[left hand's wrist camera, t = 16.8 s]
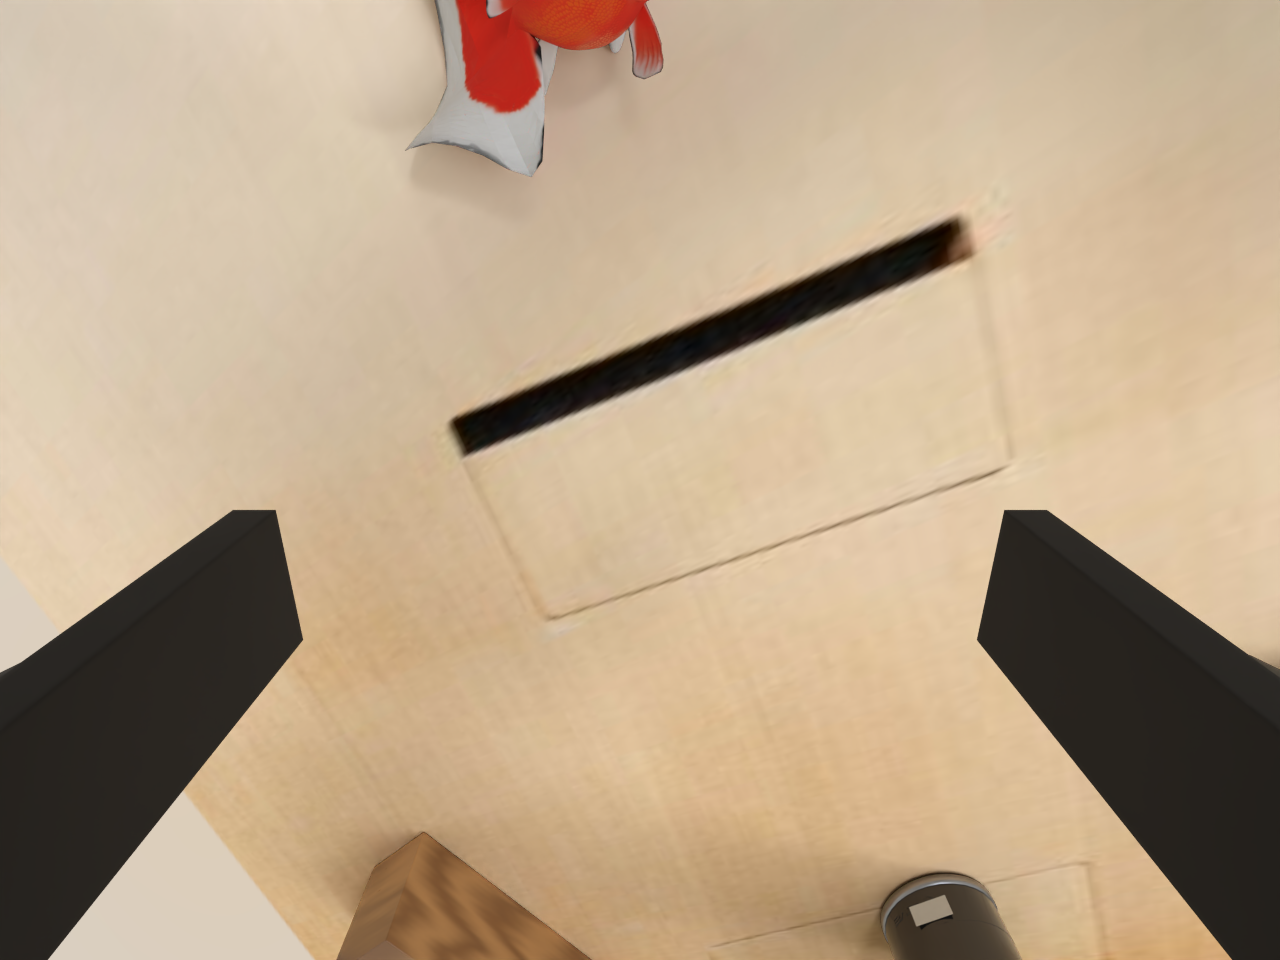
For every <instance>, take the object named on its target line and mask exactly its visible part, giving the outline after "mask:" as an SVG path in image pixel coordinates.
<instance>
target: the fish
mask: <svg viewBox="0 0 1280 960" xmlns="http://www.w3.org/2000/svg"><path fill="white" fill-rule="evenodd" d="M646 1H648V0H435V4H436V8H437V13H438V18H439V24H440V29H441V34H442V40H443V45H444V51H445V63H446V75H447V87H446V90H445V92H444V95H443V97H442V100H441V102H440V104H439V107H438V109H437V111H436V113H435V115H434V116H433V118H432V119H431V121H430V122H429V123H428V125H427V126H426V127H425V128H424V129H423V130H422V131H421V132H420V133H419V134H418V135H417V136H416V138H415V139H414V140H413V141H412V143H411V144H410V145H409V147H408V148H407V149H406V150H408V149H410V148H414V147H418V146H421V145H425V144H429V143H439V144H447V145H454V146H458V147H460V148H463V149H466V150H469V151H472V152H475V153H478V154H481V155H483V156H485V157H487V158H489V159H490V160H492V161H494V162H496V163H498V164H499V165H501V166H503V167H505V168H507V169H509V170H512V171H515V172H518V173H521V174H524V175H527V176H530V177H532V175H533V174H534V172H535V171H536V169H537V168H538V167H539V165H540V164H541V162H542V158H543V138H544V110H545V102H544V95H546V93H547V89H548V86H549V83H550V80H551V77H552V74H553V70H554V66H555V60H556V54H557V50H558V47H562V48H565V49H570V50H586V49H594V48H599V47H602V46H605V45H607V44H609V46H610V48H611V50H612V52H613V53H617V52H618V51H619V50H620V48H621V46H622V43H623V40H624V37H625V33H626V30H627V29H629V36H630V41H631V47H632V52H633V67H632V71H633V74H634V75H635V76H636V77H639V78H642V79H646V78H648V77H651V76H653V75H655V74H657V73H659V72H661V70H662V68H663V55H662V48H661V40H660V37H659V34H658V31H657V28H656V26H655V23H654V21H653V19H652V16H651V14H650V12H649V10H648V8H647V5H646ZM535 37H536V38H538V39H539V40H538V42H537V40H536V39H535ZM406 150H405V151H406Z"/></svg>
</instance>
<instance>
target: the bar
mask: <svg viewBox="0 0 1280 960" xmlns="http://www.w3.org/2000/svg"><path fill="white" fill-rule="evenodd" d="M337 960H591V959H590V958H588V957H587V956H586V955H584V954H583V953H582V952H580V951H579V950H578V949H576V948H575V947H574V946H572V945H571V944H570V943H569V942H567V941H566V940H565V939H563V938H562V937H561V936H559V935H558V934H557V933H555V932H554V931H553V930H552V929H550V928H549V927H548V926H546V925H545V924H544V923H542V922H541V921H540V920H538V919H537V918H536V917H535V916H533V915H532V914H531V913H529V912H528V911H527V910H525V909H524V908H523V907H521V906H520V905H519V904H517V903H516V902H515V901H514V900H512V899H511V898H510V897H508V896H507V895H506V894H504V893H503V892H502V891H500V890H499V889H498V888H497V887H495V886H494V885H493V884H491V883H490V882H489V881H487V880H486V879H485V878H483V877H482V876H481V875H480V874H478V873H477V872H476V871H474V870H473V869H472V868H470V867H469V866H468V865H466V864H465V863H464V862H462V861H461V860H460V859H459V858H457V857H456V856H455V855H453V854H452V853H451V852H449V851H448V850H447V849H445V848H444V847H443V846H442V845H440V844H439V843H438V842H436V841H435V840H434V839H432V838H431V837H430V836H428V835H427V834H426V833H424V832H423V833H422V834H421V835H419V836H418V837H416V838H415V839H414V840H412V841H411V842H409V843H408V844H407V845H405V846H404V847H402V848H401V849H399V850H398V851H397V852H395V853H394V854H392V855H391V856H390V857H388V858H387V859H385V860H384V861H383V862H381V863H380V864H378V865H377V866H376V867H374V869H373V872H372V874H371V876H370V879H369V881H368V884H367V886H366V889H365V891H364V894H363V896H362V898H361V901H360V903H359V906H358V908H357V911H356V913H355V916H354V918H353V920H352V923H351V925H350V928H349V930H348V933H347V935H346V938H345V940H344V943H343V945H342V947H341V950H340V952H339V955H338V957H337Z"/></svg>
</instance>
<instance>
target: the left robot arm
mask: <svg viewBox="0 0 1280 960" xmlns="http://www.w3.org/2000/svg"><path fill="white" fill-rule="evenodd" d="M302 641H303V637H302V633H301V628H300V623H299V618H298V614H297V609H296V604H295V600H294V595H293V590H292V585H291V581H290V576H289V571H288V566H287V562H286V557H285V552H284V548H283V543H282V538H281V533H280V529H279V524H278V519H277V514H276V510H233V511H231V512H230V513H228V514H227V515H226V516H224V517H223V518H221V519H220V520H219V521H217V522H216V523H214V524H213V525H212V526H210V527H209V528H207V529H206V530H205V531H203V532H202V533H201V534H199V535H198V536H196V537H195V538H194V539H192V540H191V541H189V542H188V543H187V544H185V545H184V546H182V547H181V548H180V549H178V550H177V551H175V552H174V553H173V554H171V555H170V556H169V557H167V558H166V559H164V560H163V561H162V562H160V563H159V564H157V565H156V566H155V567H153V568H152V569H150V570H149V571H148V572H146V573H145V574H143V575H142V576H141V577H139V578H138V579H137V580H135V581H134V582H132V583H131V584H130V585H128V586H127V587H125V588H124V589H123V590H121V591H120V592H118V593H117V594H116V595H114V596H113V597H111V598H110V599H109V600H107V601H106V602H105V603H103V604H102V605H100V606H99V607H98V608H96V609H95V610H93V611H92V612H91V613H89V614H88V615H86V616H85V617H84V618H82V619H81V620H79V621H78V622H77V623H75V624H74V625H72V626H71V627H70V628H68V629H67V630H66V631H64V632H63V633H61V634H60V635H59V636H57V637H56V638H54V639H53V640H52V641H50V642H49V643H47V644H46V645H45V646H43V647H42V648H40V649H39V650H38V651H36V652H35V653H34V654H32V655H31V656H29V657H28V658H27V659H25V660H24V661H22V662H21V663H19V664H17V665H15V666H13V667H11V668H9V669H7V670H5V671H3V672H1V673H0V960H48V959H49V958H50V956H51V955H52V954H53V953H54V951H55V950H56V949H57V948H58V946H59V945H60V944H61V942H62V941H63V940H64V939H65V937H66V936H67V935H68V934H69V932H70V931H71V930H72V929H73V927H74V926H75V925H76V924H77V922H78V921H79V920H80V919H81V917H82V916H83V915H84V914H85V912H86V911H87V910H88V909H89V907H90V906H91V905H92V904H93V902H94V901H95V900H96V899H97V897H98V896H99V895H100V894H101V892H102V891H103V890H104V889H105V887H106V886H107V885H108V884H109V882H110V881H111V880H112V879H113V877H114V876H115V875H116V874H117V872H118V871H119V870H120V869H121V867H122V866H123V865H124V864H125V862H126V861H127V860H128V858H129V857H130V856H131V855H132V854H133V852H134V851H135V850H136V849H137V847H138V846H139V845H140V843H141V842H142V841H143V840H144V838H145V837H146V836H147V835H148V833H149V832H150V831H151V830H152V828H153V827H154V826H155V825H156V823H157V822H158V821H159V820H160V818H161V817H162V816H163V815H164V813H165V812H166V811H167V810H168V808H169V807H170V806H171V805H172V803H173V802H174V801H175V800H176V798H177V797H178V796H179V795H180V793H181V792H182V791H183V790H184V788H185V787H186V786H187V785H188V783H189V782H190V781H191V780H192V778H193V777H194V776H195V775H196V773H197V772H198V771H199V770H200V768H201V767H202V766H203V765H204V763H205V762H206V761H207V760H208V758H209V757H210V756H211V755H212V753H213V752H214V751H215V750H216V748H217V747H218V746H219V745H220V743H221V742H222V741H223V740H224V738H225V737H226V736H227V735H228V733H229V732H230V731H231V730H232V728H233V727H234V726H235V724H236V723H237V722H238V721H239V719H240V718H241V717H242V716H243V714H244V713H245V712H246V711H247V709H248V708H249V707H250V706H251V704H252V703H253V702H254V701H255V699H256V698H257V697H258V696H259V694H260V693H261V692H262V691H263V689H264V688H265V687H266V686H267V684H268V683H269V682H270V681H271V679H272V678H273V677H274V676H275V674H276V673H277V672H278V671H279V669H280V668H281V667H282V666H283V664H284V663H285V662H286V661H287V659H288V658H289V657H290V656H291V654H292V653H293V652H294V651H295V649H296V648H297V647H298V646H299V644H300V643H301V642H302ZM977 641H978V642H979V643H980V644H981V646H982V647H983V648H984V649H985V651H986V652H987V653H988V654H989V656H990V657H991V658H992V659H993V661H994V662H995V663H996V664H997V666H998V667H999V668H1000V669H1001V671H1002V672H1003V673H1004V674H1005V676H1006V677H1007V678H1008V679H1009V681H1010V682H1011V683H1012V684H1013V686H1014V687H1015V688H1016V689H1017V691H1018V692H1019V693H1020V694H1021V696H1022V697H1023V698H1024V699H1025V701H1026V702H1027V703H1028V704H1029V706H1030V707H1031V708H1032V709H1033V711H1034V712H1035V713H1036V714H1037V716H1038V717H1039V718H1040V719H1041V721H1042V722H1043V723H1044V724H1045V726H1046V727H1047V728H1048V730H1049V731H1050V732H1051V733H1052V735H1053V736H1054V737H1055V738H1056V740H1057V741H1058V742H1059V743H1060V745H1061V746H1062V747H1063V748H1064V750H1065V751H1066V752H1067V753H1068V755H1069V756H1070V757H1071V758H1072V760H1073V761H1074V762H1075V763H1076V765H1077V766H1078V767H1079V768H1080V770H1081V771H1082V772H1083V773H1084V775H1085V776H1086V777H1087V778H1088V780H1089V781H1090V782H1091V783H1092V785H1093V786H1094V787H1095V788H1096V790H1097V791H1098V792H1099V793H1100V795H1101V796H1102V797H1103V798H1104V800H1105V801H1106V802H1107V803H1108V805H1109V806H1110V807H1111V808H1112V810H1113V811H1114V812H1115V813H1116V815H1117V816H1118V817H1119V818H1120V820H1121V821H1122V822H1123V823H1124V825H1125V826H1126V827H1127V828H1128V830H1129V831H1130V832H1131V833H1132V835H1133V836H1134V837H1135V839H1136V840H1137V841H1138V842H1139V844H1140V845H1141V846H1142V847H1143V849H1144V850H1145V851H1146V852H1147V854H1148V855H1149V856H1150V857H1151V859H1152V860H1153V861H1154V862H1155V864H1156V865H1157V866H1158V867H1159V869H1160V870H1161V871H1162V872H1163V874H1164V875H1165V876H1166V877H1167V879H1168V880H1169V881H1170V882H1171V884H1172V885H1173V886H1174V887H1175V889H1176V890H1177V891H1178V892H1179V894H1180V895H1181V896H1182V897H1183V899H1184V900H1185V901H1186V902H1187V904H1188V905H1189V906H1190V907H1191V909H1192V910H1193V911H1194V912H1195V914H1196V915H1197V916H1198V917H1199V919H1200V920H1201V921H1202V922H1203V924H1204V925H1205V926H1206V927H1207V929H1208V930H1209V931H1210V932H1211V934H1212V935H1213V936H1214V937H1215V939H1216V940H1217V941H1218V942H1219V944H1220V945H1221V946H1222V948H1223V949H1224V950H1225V951H1226V953H1227V954H1228V955H1229V956H1230V958H1231V959H1232V960H1280V669H1278V668H1275V667H1273V666H1271V665H1269V664H1267V663H1265V662H1263V661H1261V660H1259V659H1257V658H1255V657H1253V656H1251V655H1248V654H1246V653H1245V652H1244V651H1242V650H1241V649H1240V648H1238V647H1237V646H1235V645H1234V644H1233V643H1231V642H1230V641H1228V640H1227V639H1226V638H1224V637H1223V636H1221V635H1220V634H1219V633H1217V632H1216V631H1214V630H1213V629H1212V628H1210V627H1209V626H1208V625H1206V624H1205V623H1203V622H1202V621H1201V620H1199V619H1198V618H1196V617H1195V616H1194V615H1192V614H1191V613H1189V612H1188V611H1187V610H1185V609H1184V608H1182V607H1181V606H1180V605H1178V604H1177V603H1175V602H1174V601H1173V600H1171V599H1170V598H1169V597H1167V596H1166V595H1164V594H1163V593H1162V592H1160V591H1159V590H1157V589H1156V588H1155V587H1153V586H1152V585H1150V584H1149V583H1148V582H1146V581H1145V580H1143V579H1142V578H1141V577H1139V576H1138V575H1137V574H1135V573H1134V572H1132V571H1131V570H1130V569H1128V568H1127V567H1125V566H1124V565H1123V564H1121V563H1120V562H1118V561H1117V560H1116V559H1114V558H1113V557H1111V556H1110V555H1109V554H1107V553H1106V552H1105V551H1103V550H1102V549H1100V548H1099V547H1098V546H1096V545H1095V544H1093V543H1092V542H1091V541H1089V540H1088V539H1086V538H1085V537H1084V536H1082V535H1081V534H1079V533H1078V532H1077V531H1075V530H1074V529H1073V528H1071V527H1070V526H1068V525H1067V524H1066V523H1064V522H1063V521H1061V520H1060V519H1059V518H1057V517H1056V516H1054V515H1053V514H1052V513H1050V512H1049V511H1047V510H1004V514H1003V519H1002V524H1001V529H1000V533H999V538H998V543H997V548H996V552H995V557H994V562H993V566H992V571H991V576H990V581H989V585H988V590H987V595H986V600H985V604H984V609H983V614H982V618H981V623H980V628H979V633H978V637H977Z"/></svg>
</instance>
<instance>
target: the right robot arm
mask: <svg viewBox="0 0 1280 960" xmlns="http://www.w3.org/2000/svg"><path fill="white" fill-rule="evenodd" d="M880 921H881V927H882V930H883V933H884V936H885V938H886V940H887V942H888V944H889V946H890V949H891V952H892V955H893V958H894V960H1022V958H1021V956H1020V954H1019V952H1018V950H1017V948H1016V946H1015V944H1014V942H1013V940H1012V938H1011V936H1010V934H1009V932H1008V930H1007V928H1006V926H1005V924H1004V922H1003V920H1002V919H1001V917H1000V915H999V913H998V910H997V906H996V904H995V902H994V900H993V898H992V896H991V895H990V893H989V891H988V890H987V889H986V888H985V887H984V886H983V885H982V884H980V883H979V882H977V881H975V880H973V879H971V878H968V877H965V876H961V875H955V874H936V875H930V876H925V877H922V878H919V879H916V880H913V881H911V882H909V883H907V884H905V885H904V886H902V887H901V888H899V889H898V890H897V891H895V892H894V893H893V894H892V895H891V896H890V897H889V898H888V900H887V901H886V903H885V904H884V906H883V909H882V912H881V917H880Z"/></svg>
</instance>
